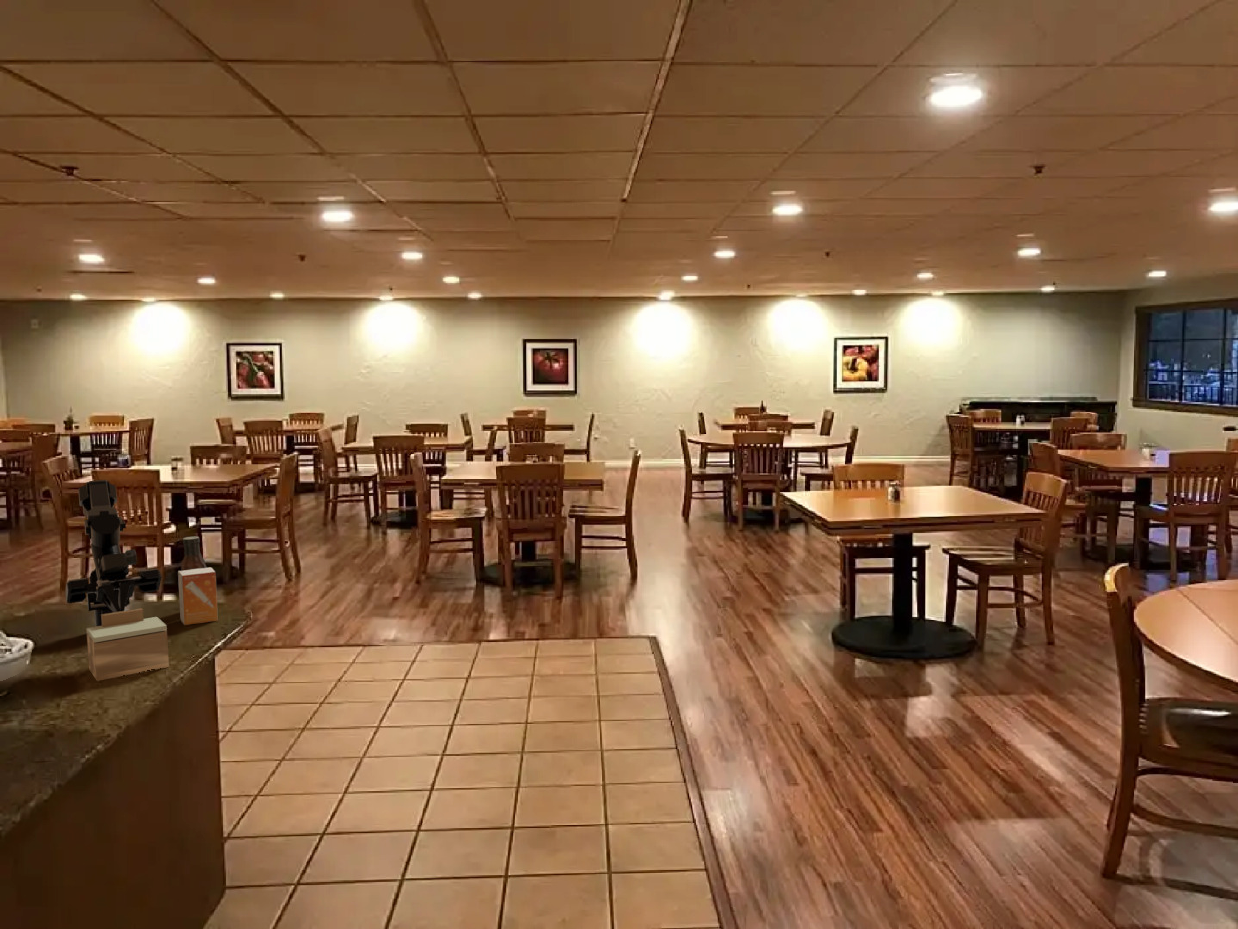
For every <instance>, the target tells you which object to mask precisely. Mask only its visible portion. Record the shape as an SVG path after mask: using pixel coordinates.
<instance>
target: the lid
mask: <svg viewBox="0 0 1238 929" xmlns="http://www.w3.org/2000/svg"><path fill="white" fill-rule="evenodd" d="M101 620H102V626H97V627H96V626H92V627H86V628H85V629H86V635H87V634H88V635H89V636H90V638H91V639H92V640H93V641H94V643H95V642H101V641H106V640H112V639H118V638H124V637H130V636H136V635H141V634H147V633H153V632H159V631H165V630H166V631H168V630H167V629H168V628H167V627H168V626H167V624H166V623H165V622H163V621H162V620H161V619H160V618H159V617H157V616H154V617H153V616H152V617H147V618H146V617H145V618H144V609H143V608H141V607H139V608H135V609H128V610H126V609H125V610H124V611H120V612H114V613H107V614H101Z"/></svg>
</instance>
